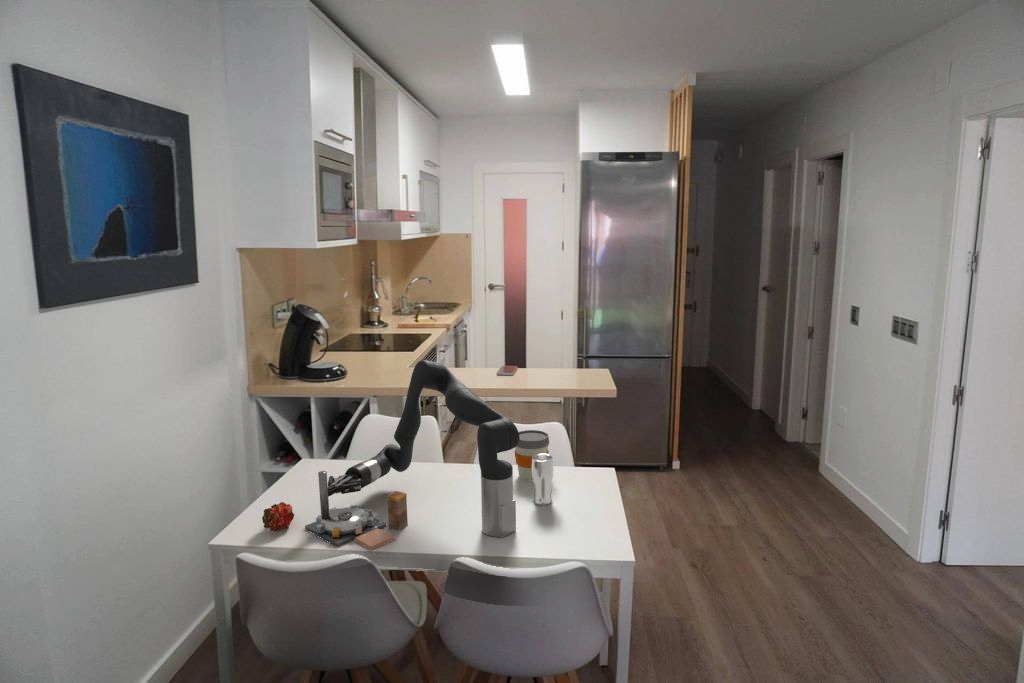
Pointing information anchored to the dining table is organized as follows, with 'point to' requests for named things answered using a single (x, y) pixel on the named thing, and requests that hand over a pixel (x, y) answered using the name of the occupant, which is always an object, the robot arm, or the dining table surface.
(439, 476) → the dining table surface
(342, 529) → the sprocket
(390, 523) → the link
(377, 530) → the salmon brown square slab
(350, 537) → the sprocket base
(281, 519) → the dragon fruit
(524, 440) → the reusable coffee cup
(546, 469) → the silver metal cylinder
